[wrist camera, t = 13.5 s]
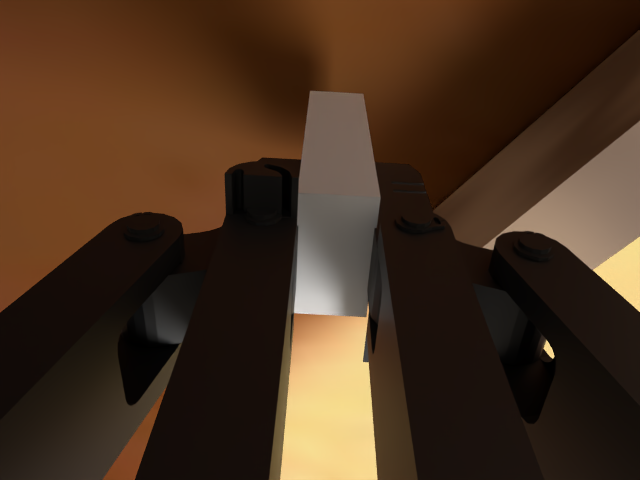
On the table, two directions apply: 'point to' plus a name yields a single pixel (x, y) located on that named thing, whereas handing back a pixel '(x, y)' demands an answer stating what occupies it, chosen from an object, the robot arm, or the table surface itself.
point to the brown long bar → (565, 170)
